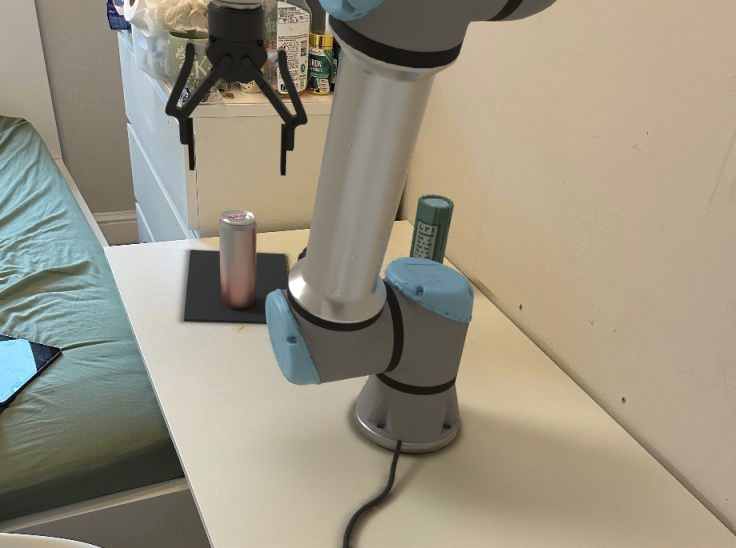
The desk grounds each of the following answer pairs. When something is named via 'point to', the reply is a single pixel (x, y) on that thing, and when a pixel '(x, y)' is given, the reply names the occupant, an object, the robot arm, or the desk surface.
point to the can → (431, 227)
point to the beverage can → (238, 258)
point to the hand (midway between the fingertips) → (238, 170)
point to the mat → (207, 288)
